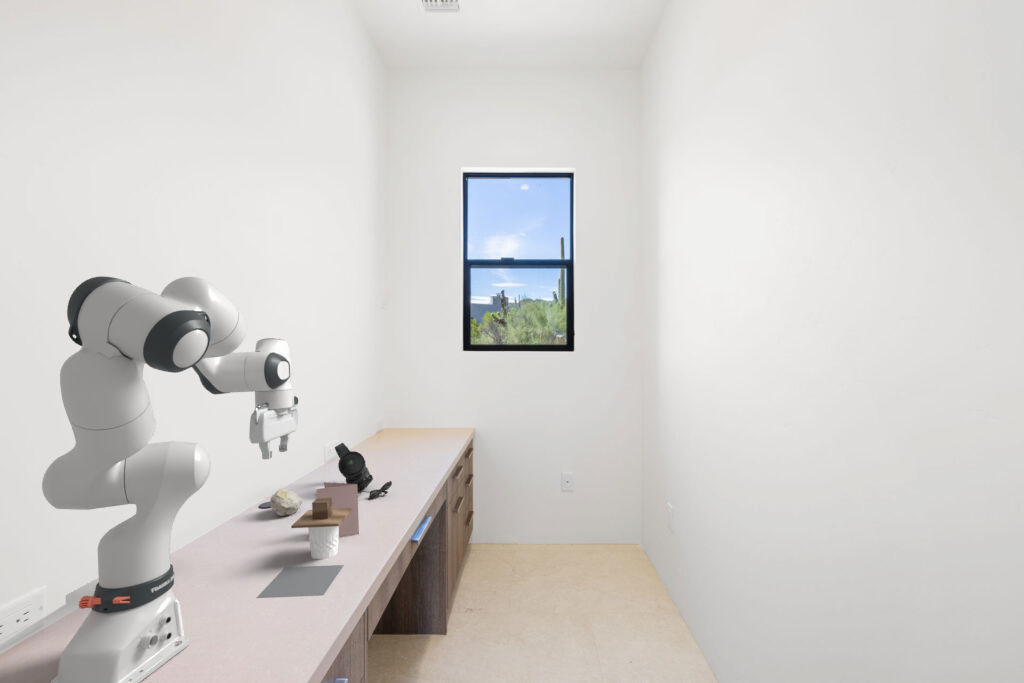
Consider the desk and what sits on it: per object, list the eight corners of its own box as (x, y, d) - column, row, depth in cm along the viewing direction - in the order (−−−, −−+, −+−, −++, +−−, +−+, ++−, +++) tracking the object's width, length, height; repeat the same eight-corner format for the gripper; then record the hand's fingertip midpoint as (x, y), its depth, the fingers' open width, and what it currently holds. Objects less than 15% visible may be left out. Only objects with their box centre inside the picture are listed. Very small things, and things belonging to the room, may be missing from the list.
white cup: (329, 562, 132) (328, 524, 132) (302, 561, 133) (301, 523, 133) (345, 550, 139) (344, 514, 139) (319, 548, 141) (318, 512, 141)
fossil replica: (296, 506, 179) (266, 515, 172) (293, 483, 178) (263, 491, 172) (308, 511, 169) (277, 522, 163) (305, 487, 169) (273, 496, 163)
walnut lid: (338, 526, 130) (337, 506, 130) (291, 528, 130) (290, 508, 130) (351, 510, 142) (351, 492, 142) (308, 511, 142) (308, 493, 142)
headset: (367, 519, 186) (337, 470, 205) (399, 498, 192) (368, 452, 211) (352, 492, 175) (322, 442, 194) (387, 470, 181) (355, 424, 199)
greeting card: (360, 533, 151) (359, 483, 151) (346, 543, 144) (344, 490, 144) (327, 530, 154) (326, 481, 154) (311, 539, 147) (310, 488, 147)
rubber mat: (323, 597, 114) (323, 595, 114) (256, 599, 114) (256, 597, 114) (344, 566, 129) (343, 564, 129) (284, 569, 129) (284, 567, 129)
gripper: (267, 405, 120) (269, 463, 120) (301, 397, 141) (303, 447, 140) (241, 406, 120) (242, 464, 120) (278, 398, 141) (280, 448, 140)
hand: (275, 455), depth 130 cm, fingers open, 8 cm apart
